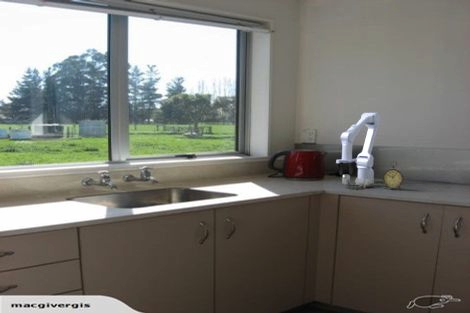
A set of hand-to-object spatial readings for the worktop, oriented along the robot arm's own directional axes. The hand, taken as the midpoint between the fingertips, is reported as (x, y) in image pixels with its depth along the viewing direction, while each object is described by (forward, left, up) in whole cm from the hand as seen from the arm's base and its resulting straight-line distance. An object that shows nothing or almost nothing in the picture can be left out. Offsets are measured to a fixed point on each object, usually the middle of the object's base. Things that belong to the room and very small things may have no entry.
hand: (346, 174), depth 248 cm
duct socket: (0, +11, -6) cm, 13 cm away
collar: (0, 0, -6) cm, 6 cm away
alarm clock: (-14, +23, -6) cm, 28 cm away
